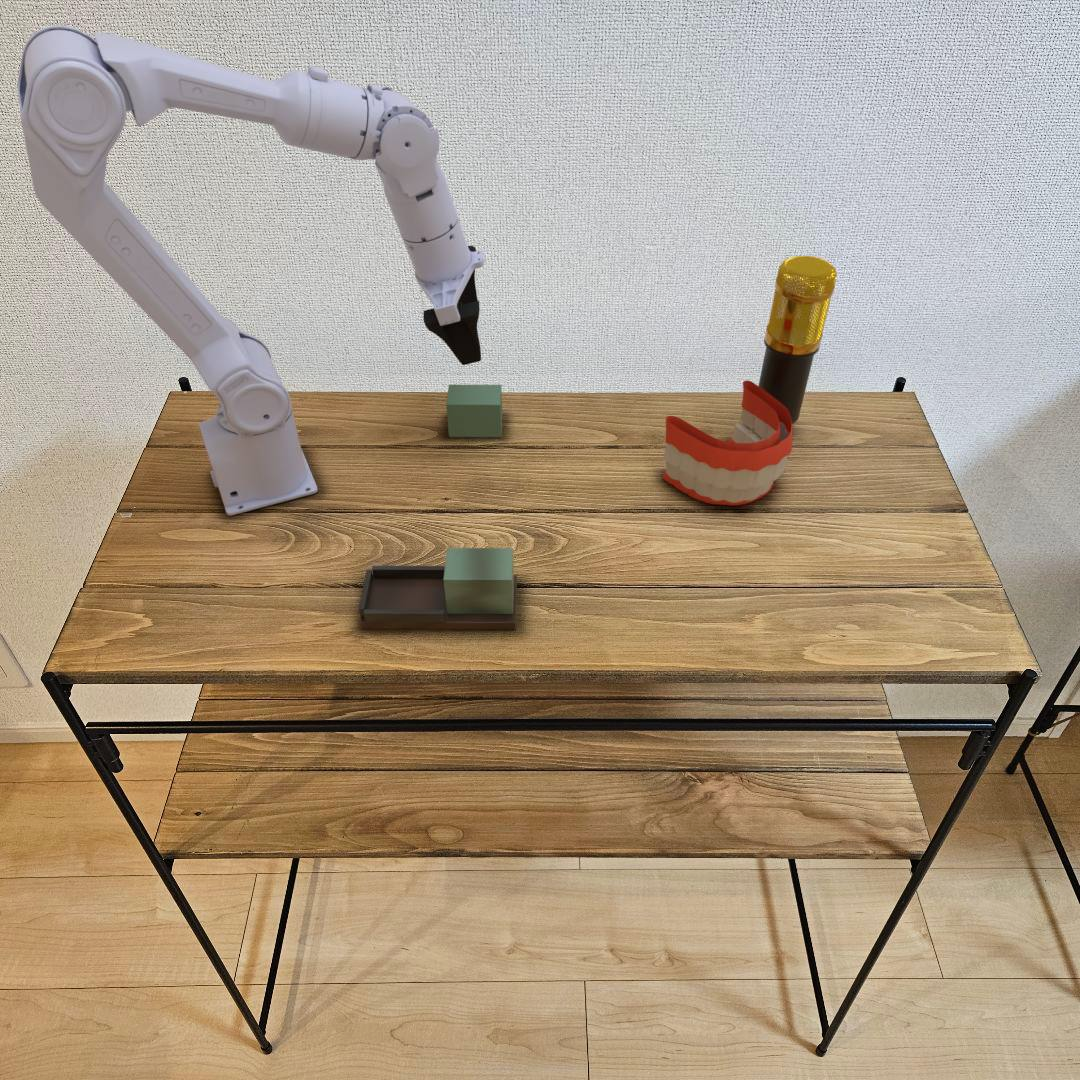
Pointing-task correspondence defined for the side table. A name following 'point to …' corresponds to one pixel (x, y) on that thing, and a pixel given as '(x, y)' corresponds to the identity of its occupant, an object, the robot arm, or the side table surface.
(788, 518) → the side table surface
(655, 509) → the side table surface
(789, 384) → the black gold cylinder
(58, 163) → the robot arm
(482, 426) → the block
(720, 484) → the toy
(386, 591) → the dark brown tray
